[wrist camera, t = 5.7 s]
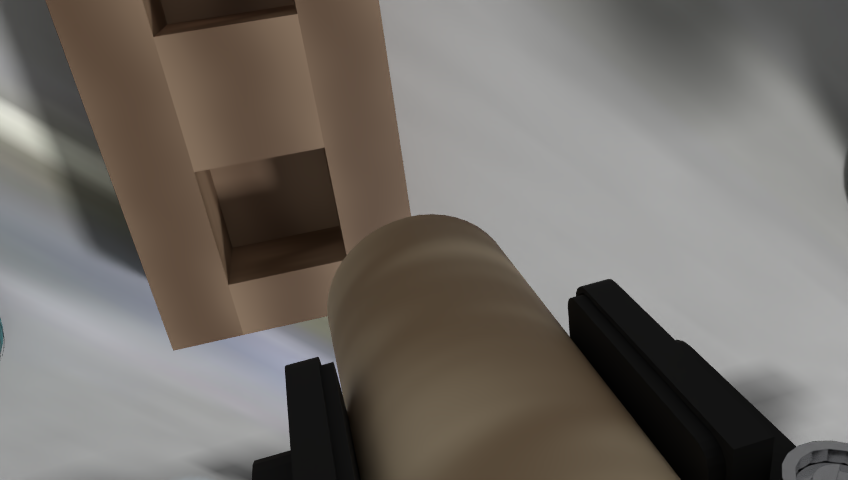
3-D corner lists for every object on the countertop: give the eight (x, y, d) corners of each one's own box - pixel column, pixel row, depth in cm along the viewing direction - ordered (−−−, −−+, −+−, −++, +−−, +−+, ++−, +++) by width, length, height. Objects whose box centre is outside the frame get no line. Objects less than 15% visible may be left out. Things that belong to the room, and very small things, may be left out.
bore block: (328, -222, 27) (340, -253, 22) (403, 251, 37) (422, 294, 32) (20, -187, 25) (-33, -214, 21) (185, 297, 35) (173, 350, 30)
